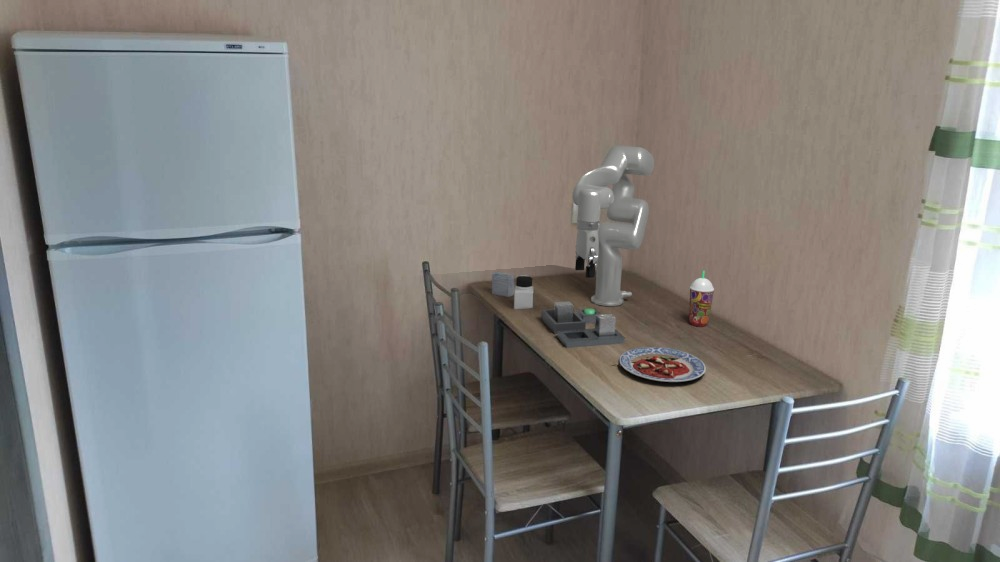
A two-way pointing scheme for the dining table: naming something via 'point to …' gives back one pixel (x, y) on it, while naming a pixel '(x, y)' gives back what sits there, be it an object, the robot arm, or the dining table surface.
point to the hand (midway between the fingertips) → (584, 273)
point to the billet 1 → (563, 312)
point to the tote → (551, 323)
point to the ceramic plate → (663, 365)
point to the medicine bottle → (523, 292)
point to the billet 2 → (605, 325)
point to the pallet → (587, 338)
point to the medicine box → (503, 284)
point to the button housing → (588, 315)
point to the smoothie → (700, 301)
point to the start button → (589, 311)
